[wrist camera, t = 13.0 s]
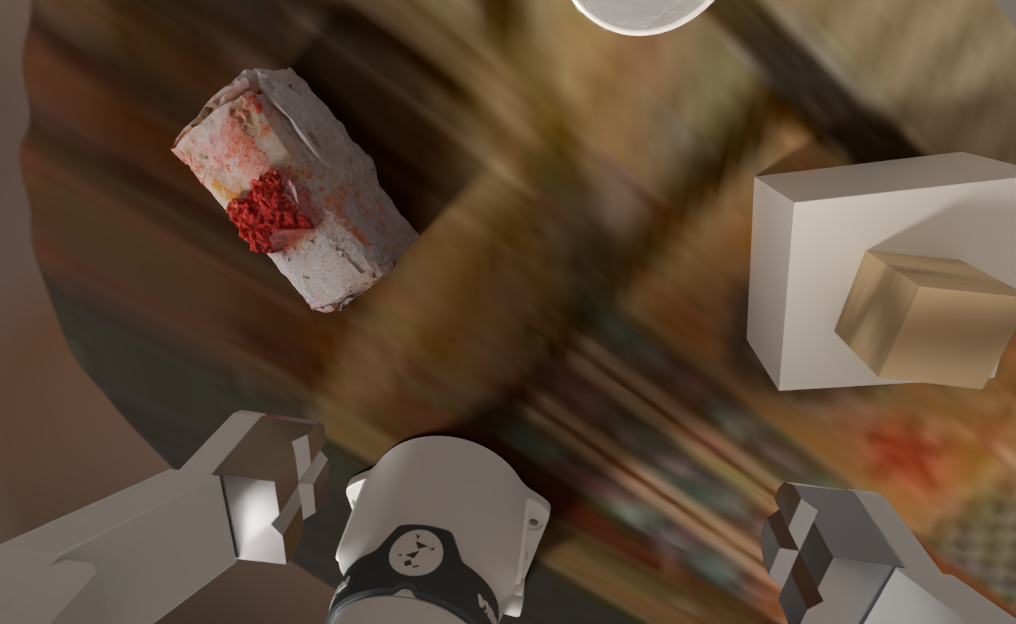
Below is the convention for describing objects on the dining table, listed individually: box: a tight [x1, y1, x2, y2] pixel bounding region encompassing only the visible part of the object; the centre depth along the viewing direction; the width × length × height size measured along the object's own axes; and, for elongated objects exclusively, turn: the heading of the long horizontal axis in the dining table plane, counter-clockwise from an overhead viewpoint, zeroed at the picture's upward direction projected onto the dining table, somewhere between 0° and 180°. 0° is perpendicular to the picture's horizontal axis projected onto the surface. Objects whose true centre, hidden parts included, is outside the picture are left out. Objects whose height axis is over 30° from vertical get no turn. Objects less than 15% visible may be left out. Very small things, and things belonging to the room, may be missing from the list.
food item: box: [171, 68, 419, 312], centre depth 33 cm, size 14×8×10 cm, turn 36°
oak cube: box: [834, 251, 1016, 389], centre depth 28 cm, size 5×5×5 cm
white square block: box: [747, 152, 1016, 391], centre depth 33 cm, size 12×12×7 cm
